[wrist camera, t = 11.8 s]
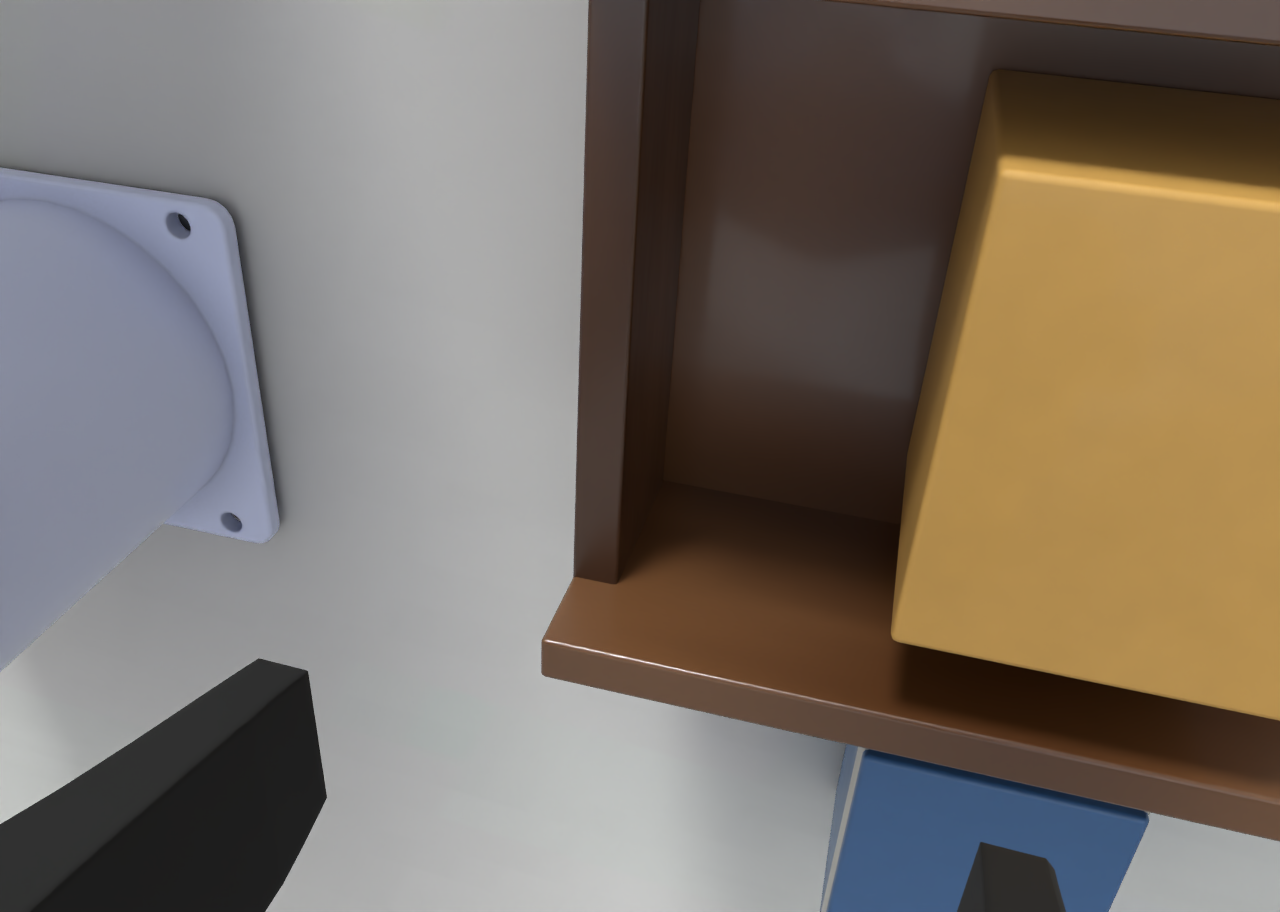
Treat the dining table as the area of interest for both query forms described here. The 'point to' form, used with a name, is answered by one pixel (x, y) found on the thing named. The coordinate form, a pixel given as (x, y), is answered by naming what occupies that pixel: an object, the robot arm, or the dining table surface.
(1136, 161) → the ochre carton
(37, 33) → the dining table surface
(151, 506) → the robot arm
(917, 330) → the shelf
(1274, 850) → the dining table surface
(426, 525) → the dining table surface
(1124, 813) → the blue book
